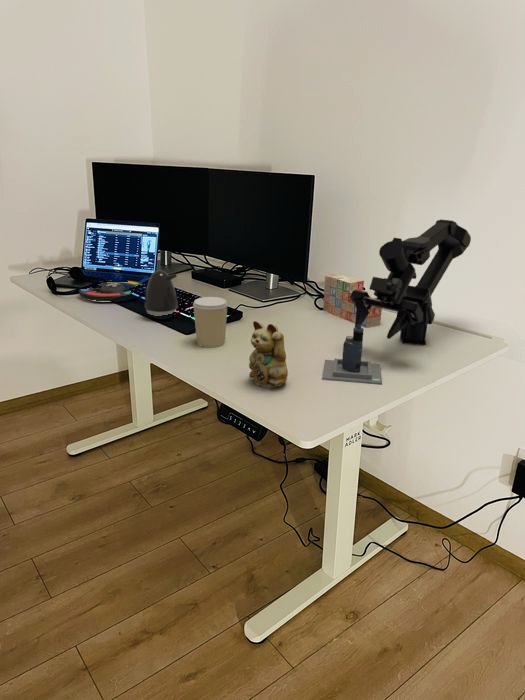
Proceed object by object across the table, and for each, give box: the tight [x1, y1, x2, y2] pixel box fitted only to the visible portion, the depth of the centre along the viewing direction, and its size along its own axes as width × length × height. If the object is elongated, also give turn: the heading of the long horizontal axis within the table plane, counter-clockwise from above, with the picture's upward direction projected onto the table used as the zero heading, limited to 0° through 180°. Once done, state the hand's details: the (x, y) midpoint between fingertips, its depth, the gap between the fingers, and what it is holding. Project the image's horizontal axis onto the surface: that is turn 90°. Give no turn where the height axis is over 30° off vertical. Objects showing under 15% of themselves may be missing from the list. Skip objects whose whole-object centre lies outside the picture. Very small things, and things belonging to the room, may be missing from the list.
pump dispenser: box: [144, 269, 179, 316], centre depth 169 cm, size 10×10×15 cm
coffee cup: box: [192, 296, 228, 348], centre depth 149 cm, size 9×9×12 cm
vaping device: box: [341, 324, 364, 373], centre depth 132 cm, size 3×5×12 cm, turn 36°
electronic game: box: [78, 280, 144, 301], centre depth 195 cm, size 23×23×5 cm
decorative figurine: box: [248, 320, 289, 390], centre depth 125 cm, size 10×8×15 cm
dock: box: [321, 357, 383, 385], centre depth 133 cm, size 14×12×2 cm
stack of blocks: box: [322, 273, 383, 328], centre depth 174 cm, size 21×6×12 cm, turn 32°
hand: (371, 333), depth 136 cm, fingers open, 9 cm apart
